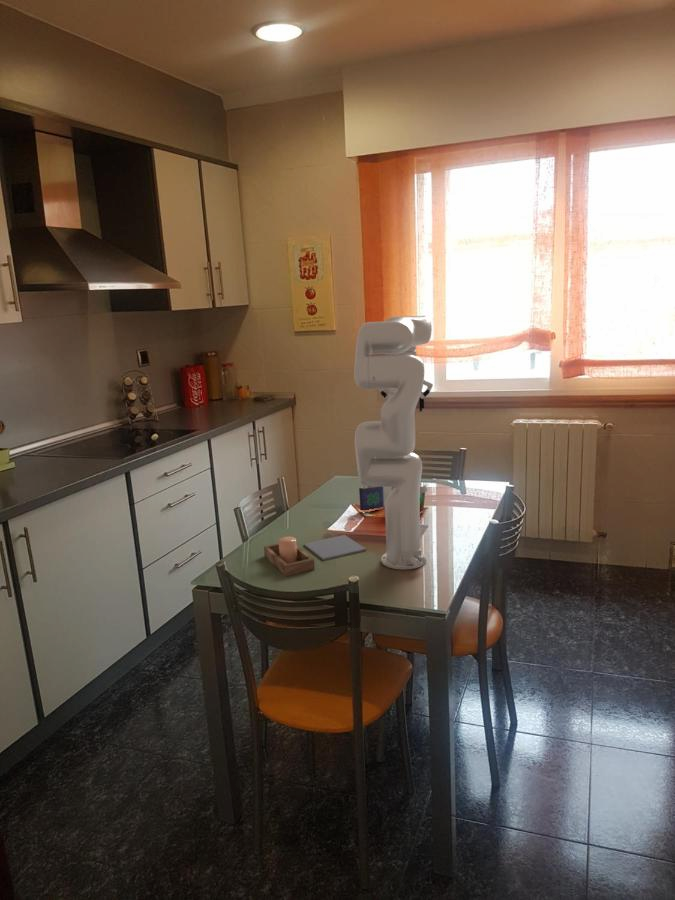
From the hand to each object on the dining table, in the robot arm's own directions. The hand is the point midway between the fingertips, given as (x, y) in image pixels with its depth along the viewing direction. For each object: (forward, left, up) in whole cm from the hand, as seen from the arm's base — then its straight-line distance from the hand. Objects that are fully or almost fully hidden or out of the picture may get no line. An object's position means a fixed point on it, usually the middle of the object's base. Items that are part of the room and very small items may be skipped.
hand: (405, 411), depth 208 cm
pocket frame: (-10, +46, -37) cm, 60 cm away
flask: (+18, +3, -38) cm, 42 cm away
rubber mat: (-7, +30, -37) cm, 49 cm away
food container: (+7, -5, -38) cm, 38 cm away
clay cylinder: (-10, +46, -37) cm, 60 cm away
